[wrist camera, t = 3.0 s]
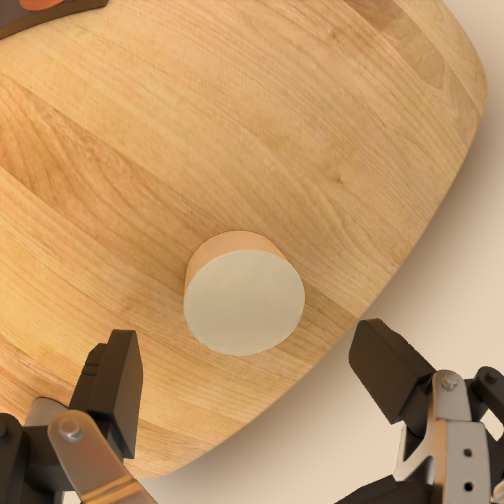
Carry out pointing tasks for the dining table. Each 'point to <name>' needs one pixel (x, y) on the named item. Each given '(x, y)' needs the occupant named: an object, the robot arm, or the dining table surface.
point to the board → (38, 12)
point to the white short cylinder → (241, 294)
